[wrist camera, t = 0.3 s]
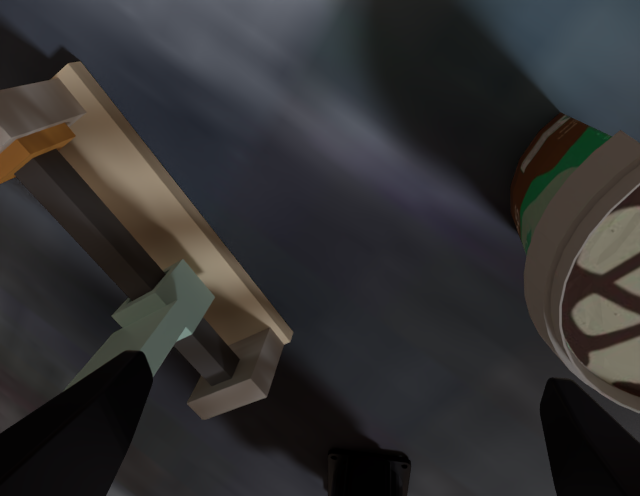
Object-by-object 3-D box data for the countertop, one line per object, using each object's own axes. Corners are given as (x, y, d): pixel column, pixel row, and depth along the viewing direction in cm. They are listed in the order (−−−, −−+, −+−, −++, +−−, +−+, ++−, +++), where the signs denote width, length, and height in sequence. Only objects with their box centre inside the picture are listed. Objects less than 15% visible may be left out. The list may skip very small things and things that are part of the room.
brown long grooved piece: (293, 331, 29) (270, 404, 24) (226, 360, 31) (192, 431, 26) (80, 61, 22) (-18, 77, 17) (15, 121, 25) (-90, 152, 19)
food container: (435, 174, 23) (461, 277, 14) (542, 88, 20) (656, 149, 11) (567, 319, 26) (656, 477, 17) (676, 261, 23) (847, 414, 14)
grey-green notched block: (225, 292, 26) (134, 446, 16) (166, 321, 27) (55, 474, 18) (193, 253, 24) (77, 394, 15) (134, 286, 26) (0, 430, 17)
